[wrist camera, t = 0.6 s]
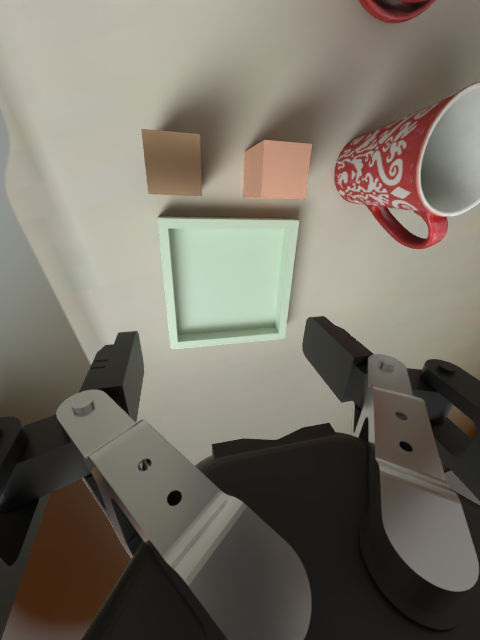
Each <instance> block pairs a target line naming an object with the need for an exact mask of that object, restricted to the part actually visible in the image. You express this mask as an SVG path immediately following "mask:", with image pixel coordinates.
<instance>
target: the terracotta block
mask: <svg viewBox="0 0 480 640" xmlns="http://www.w3.org/2000/svg"><path fill="white" fill-rule="evenodd" d="M311 150H312V144H307V143H296V142H284V141H273V140H263V141H262V142H260V143H258V144H257V145H255V146H253V147H252V148H250V149H248V150H247V151H245V154H244V185H243V197H250V198H279V199H305V196H306V189H307V181H308V173H309V165H310V157H311Z"/></svg>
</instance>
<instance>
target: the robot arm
mask: <svg viewBox="0 0 480 640" xmlns="http://www.w3.org/2000/svg"><path fill="white" fill-rule="evenodd" d="M302 348H303V353H304V355H305V357H306V358H307V359H308V361H309V362H310V363H311V364H312V366H313V367H314V368H315V370H316V371H317V372H318V373H319V375H320V376H321V377H322V378H323V380H324V381H325V382H326V384H327V385H328V386H329V387H330V389H331V390H332V391H333V393H334V394H335V395H336V396H337V398H338V399H339V400H340V401H341V402H347V401H353V402H354V405H353V409H352V422H351V435H348V434H344V433H338V432H335V431H334V429H333V428H332V426H331V425H330V423H326V424H320V425H315V426H309V427H304V428H301V429H299V430H297V431H295V432H293V433H291V434H289V435H286V436H284V437H282V438H280V439H278V440H262V439H238V440H233V441H227V442H222V443H217V444H212V456H209V457H207V458H206V459H204V460H202V461H201V462H199V463H198V464H197V465H196V466H194V465H193V464H192V463H191V462H190V461H189V460H188V459H187V458H186V457H185V456H183V455H182V454H181V453H180V452H179V451H178V450H177V449H176V448H175V447H174V446H173V445H172V444H171V443H170V442H169V441H167V440H166V439H165V438H164V437H163V436H162V435H161V434H160V433H159V432H158V431H157V430H156V429H155V428H154V427H153V426H151V425H150V424H149V423H148V422H147V421H145V420H141V421H139V422H138V423H136V421H137V414H138V408H139V401H140V395H141V388H142V382H143V375H144V364H143V357H142V351H141V345H140V340H139V334H138V332H137V331H132V332H119V333H118V335H117V338H116V340H115V343H114V344H113V345H105V346H104V347H103V348H102V349H101V350H100V351H98V352H97V354H96V356H95V358H94V360H93V363H92V365H91V367H90V370H89V372H88V374H87V376H86V378H85V380H84V383H83V385H82V387H81V389H80V392H79V393H77V394H75V395H73V396H71V397H69V398H68V399H66V400H65V401H64V402H63V403H62V404H61V405H60V407H59V408H58V410H57V413H56V414H55V415H53V416H51V417H48V418H45V419H42V420H39V421H36V422H34V423H31V424H28V425H25V426H23V425H22V423H21V421H20V420H19V419H18V418H15V417H0V640H1V638H2V635H3V632H4V629H5V627H6V624H7V621H8V618H9V614H10V612H11V608H12V605H13V602H14V600H15V597H16V594H17V591H18V588H19V585H20V582H21V579H22V576H23V573H24V570H25V567H26V564H27V561H28V558H29V555H30V552H31V549H32V546H33V543H34V540H35V537H36V534H37V531H38V528H39V526H40V523H41V520H42V517H43V513H44V511H45V508H46V505H47V502H48V498H49V496H50V493H51V492H53V491H55V490H58V489H60V488H61V487H64V486H66V485H68V484H70V483H73V482H75V481H77V480H79V479H81V478H82V479H83V480H84V482H85V483H86V485H87V487H88V488H89V490H90V491H91V493H92V494H93V496H94V497H95V498H96V500H97V502H98V503H99V505H100V506H101V508H102V510H103V511H104V513H105V514H106V516H107V517H108V519H109V521H110V522H111V524H112V526H113V528H114V530H115V532H116V534H117V536H118V538H119V539H120V541H121V543H122V544H123V546H124V548H125V549H126V551H127V553H128V554H129V556H130V557H131V561H130V562H129V564H128V566H127V567H126V569H125V571H124V572H123V574H122V575H121V577H120V579H119V580H118V582H117V583H116V585H115V586H114V588H113V590H112V591H111V593H110V595H109V596H108V598H107V599H106V601H105V603H104V604H103V606H102V607H101V609H100V610H99V612H98V614H97V615H96V617H95V618H94V620H93V622H92V623H91V625H90V627H89V629H88V630H87V631H86V633H85V635H84V636H83V638H82V639H81V640H480V505H478V504H476V503H474V502H472V501H471V500H469V499H467V498H466V497H464V496H462V495H460V494H459V493H457V492H455V491H453V490H452V489H450V488H449V486H448V485H447V482H446V479H445V476H444V472H443V468H442V464H441V461H440V458H441V460H442V461H443V462H444V463H445V464H446V465H447V466H448V467H449V468H450V469H451V470H452V471H453V473H454V474H455V475H456V476H457V477H458V478H459V479H460V480H461V481H462V482H463V483H464V484H465V485H466V487H467V488H468V489H469V490H470V491H471V492H472V493H473V494H474V495H475V496H476V497H477V499H478V500H479V501H480V381H479V380H478V379H476V378H475V377H473V376H472V375H470V374H469V373H467V372H466V371H464V370H463V369H461V368H460V367H458V366H456V365H454V364H452V363H449V362H446V361H442V360H437V359H431V360H427V361H426V362H425V364H424V366H423V369H422V370H419V369H409V368H406V366H405V365H404V364H403V363H402V362H400V361H399V360H397V359H395V358H393V357H390V356H387V355H381V354H375V355H374V354H373V353H372V352H370V351H369V350H368V349H367V348H366V347H364V346H363V345H362V344H361V343H360V342H358V341H356V339H355V338H354V337H352V336H351V335H350V334H349V333H348V332H346V331H345V330H344V329H342V328H340V327H338V326H336V325H334V324H333V323H332V322H330V321H329V320H328V319H327V318H326V317H324V316H319V317H309V318H308V319H307V321H306V326H305V332H304V338H303V344H302ZM453 405H454V406H456V407H457V408H458V409H459V410H461V411H462V412H463V413H464V414H465V415H467V416H468V417H469V418H470V419H471V420H472V421H473V422H474V423H475V425H476V428H477V434H476V436H475V438H474V439H473V440H472V439H471V438H470V437H469V436H467V435H466V434H465V433H464V432H463V431H462V430H461V429H460V428H458V427H457V426H456V425H455V424H454V423H453V422H452V421H451V420H450V419H448V418H447V416H448V414H449V412H450V411H451V409H452V407H453Z"/></svg>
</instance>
